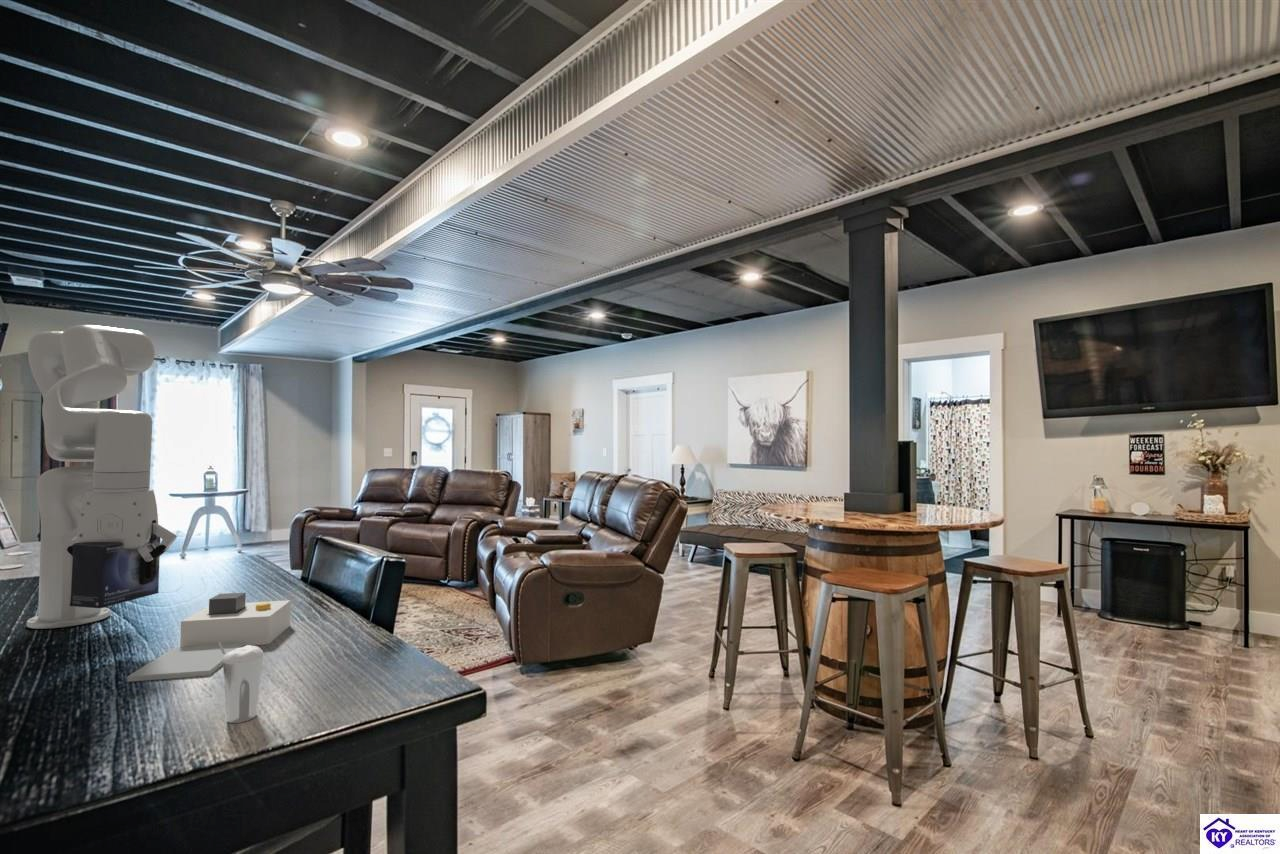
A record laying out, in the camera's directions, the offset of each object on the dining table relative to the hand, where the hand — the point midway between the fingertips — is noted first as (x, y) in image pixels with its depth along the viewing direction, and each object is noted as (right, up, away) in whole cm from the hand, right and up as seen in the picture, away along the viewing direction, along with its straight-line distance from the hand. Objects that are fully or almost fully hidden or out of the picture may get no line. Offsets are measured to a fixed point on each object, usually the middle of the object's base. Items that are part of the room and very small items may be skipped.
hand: (117, 583), depth 106 cm
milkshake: (+37, -12, -25) cm, 47 cm away
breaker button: (+13, -11, +9) cm, 19 cm away
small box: (0, -3, 0) cm, 3 cm away
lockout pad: (+16, -12, -5) cm, 21 cm away
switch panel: (+15, -13, +10) cm, 22 cm away
